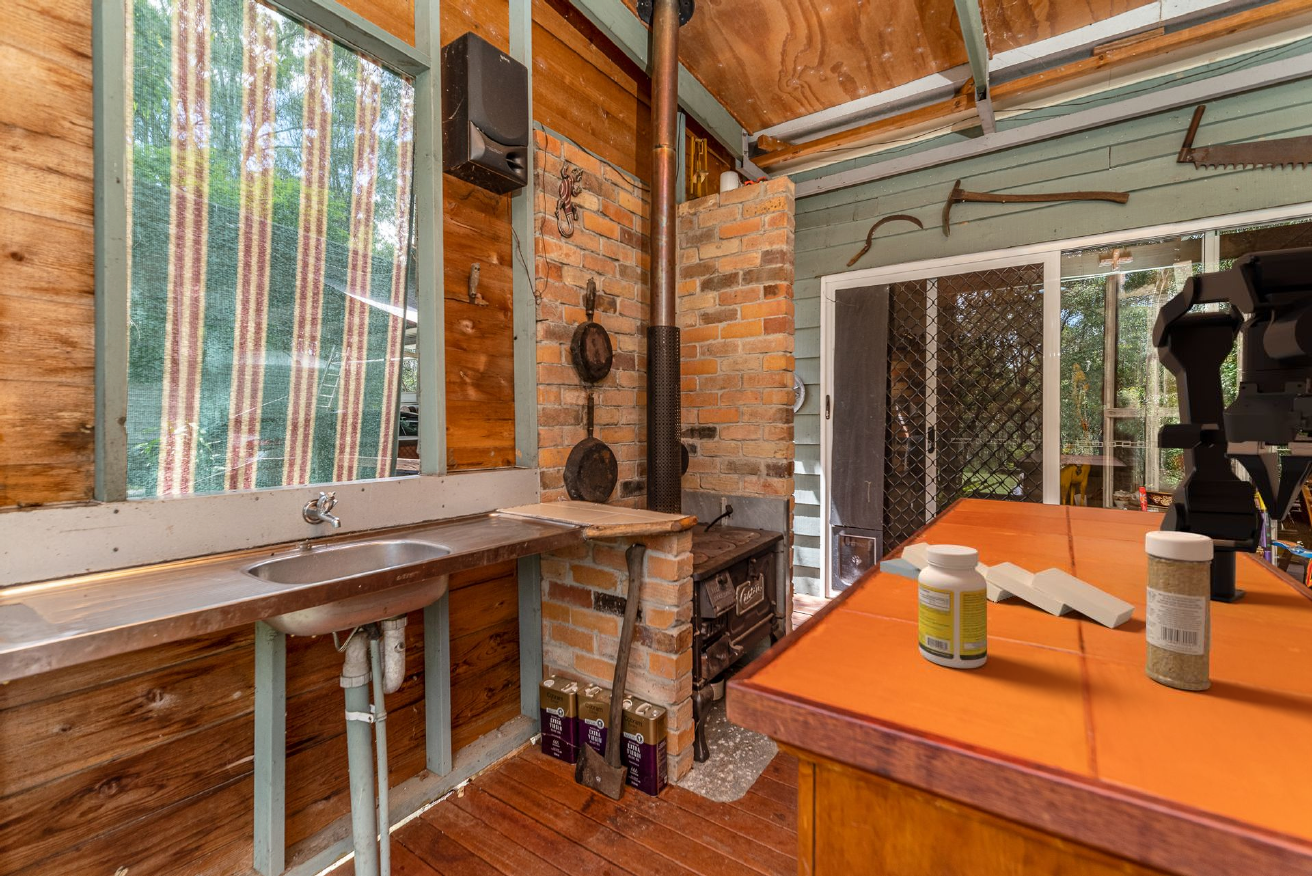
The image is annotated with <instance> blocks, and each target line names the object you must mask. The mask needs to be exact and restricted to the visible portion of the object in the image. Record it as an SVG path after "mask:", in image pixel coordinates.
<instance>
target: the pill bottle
mask: <svg viewBox="0 0 1312 876" xmlns="http://www.w3.org/2000/svg"><path fill="white" fill-rule="evenodd" d="M930 545H931V544H930ZM926 559H927V560H926V561H927V562H928V563H929V566H928V567H926V568H924V569H923V570H922V571H921V572H920V574H919V578H918V582H917V584H918V587H917V589H918V648H919V652H920V654H921V656H922V657H924V658H925V659H926V660H928V661H930V662H931V663H934V664H938V665H940V666H944V667H949V668H955V669H965V670H966V669H967V670H968V669H975V668H979V667H981V666H983V665H984V664H985V663H986V662H987V660H988V659H987V658H988V598H987V583H986V580H985V578H984V576H983V575H982V574H981V573H979V572H978V571H976V570H975V567H977V566H978V563H979V562H980V561H979V551H978V550H977V549H975V548H972V547H969V546H964V545H955V544H932V545H931V546H928V547H927V548H926Z"/></svg>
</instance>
